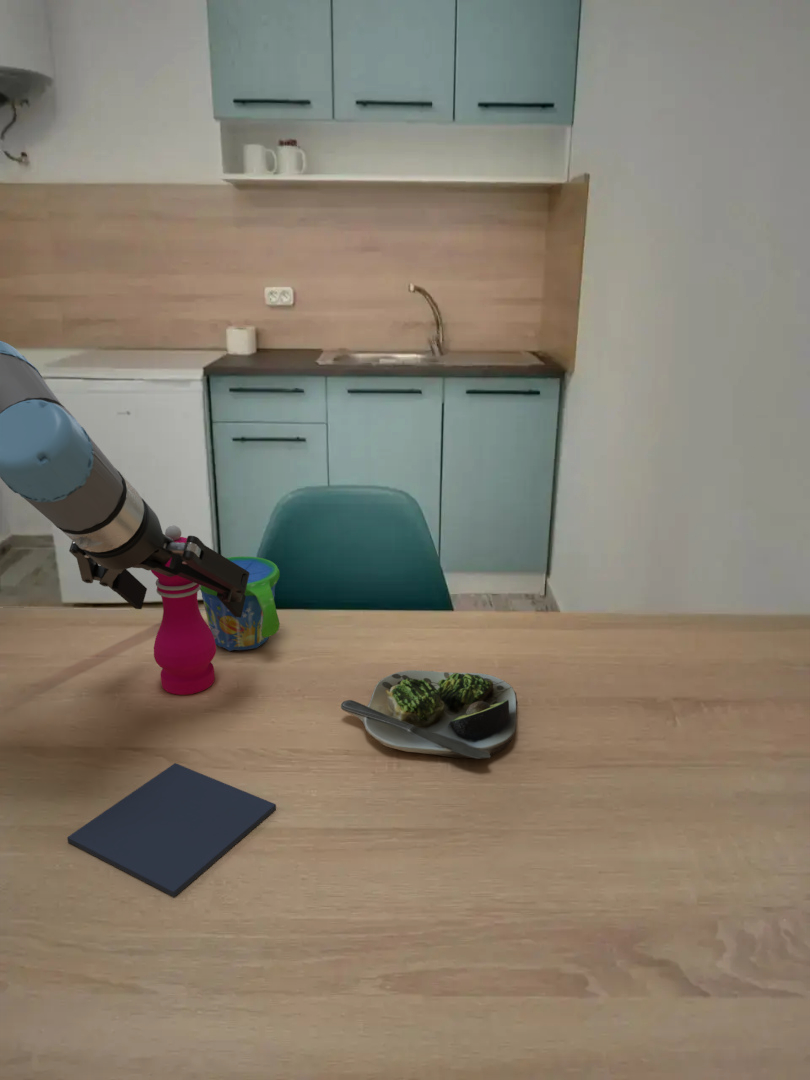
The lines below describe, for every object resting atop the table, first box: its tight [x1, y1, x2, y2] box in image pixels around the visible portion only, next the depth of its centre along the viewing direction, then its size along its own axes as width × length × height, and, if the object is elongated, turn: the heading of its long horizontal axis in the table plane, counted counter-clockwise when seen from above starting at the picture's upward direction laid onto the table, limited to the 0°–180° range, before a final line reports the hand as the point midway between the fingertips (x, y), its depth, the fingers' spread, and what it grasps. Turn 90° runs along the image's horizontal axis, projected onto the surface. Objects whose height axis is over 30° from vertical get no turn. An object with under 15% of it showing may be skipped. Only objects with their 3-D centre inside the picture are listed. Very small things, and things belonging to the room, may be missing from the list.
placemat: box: [66, 762, 277, 898], centre depth 75 cm, size 13×13×1 cm
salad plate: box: [340, 669, 519, 760], centre depth 91 cm, size 19×18×5 cm
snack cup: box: [199, 555, 281, 652], centre depth 109 cm, size 16×10×10 cm
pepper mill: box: [150, 524, 217, 696], centre depth 97 cm, size 7×7×20 cm
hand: (190, 602), depth 100 cm, fingers open, 12 cm apart
